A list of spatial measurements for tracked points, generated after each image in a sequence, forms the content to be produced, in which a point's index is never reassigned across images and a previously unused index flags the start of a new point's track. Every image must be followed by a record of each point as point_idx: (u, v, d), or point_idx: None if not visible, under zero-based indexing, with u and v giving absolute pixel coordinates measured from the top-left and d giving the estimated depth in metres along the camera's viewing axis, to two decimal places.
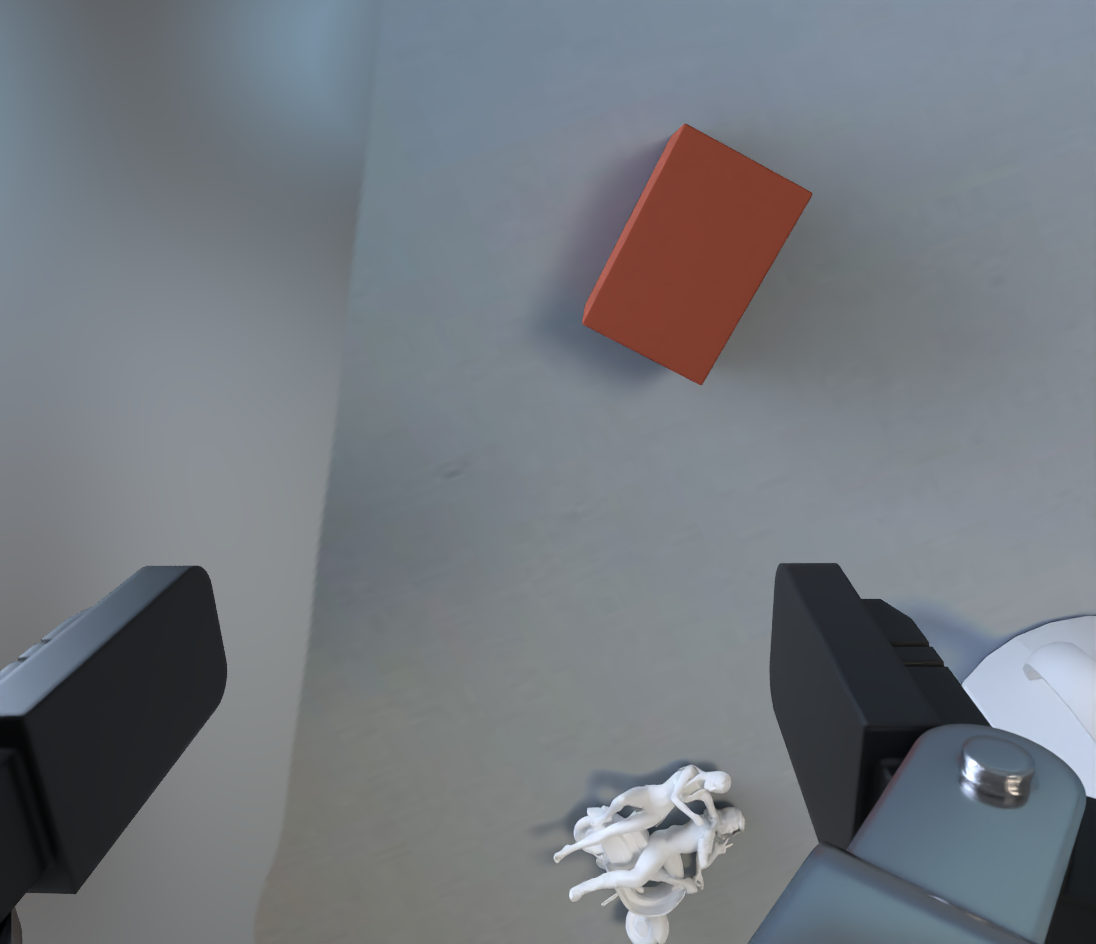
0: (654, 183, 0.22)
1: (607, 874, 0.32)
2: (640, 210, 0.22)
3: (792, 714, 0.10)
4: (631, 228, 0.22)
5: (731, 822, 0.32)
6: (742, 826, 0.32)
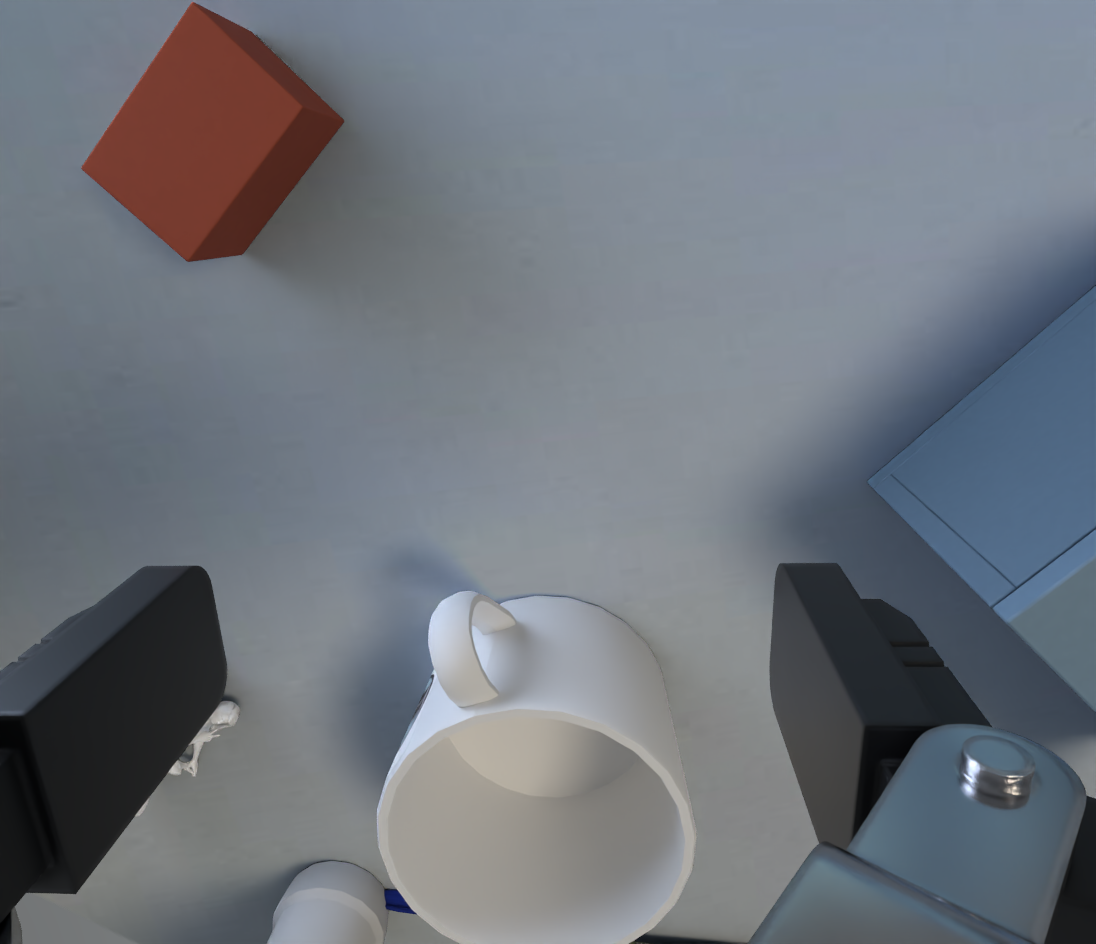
0: (159, 51, 0.23)
1: None
2: (145, 73, 0.23)
3: (792, 714, 0.10)
4: (134, 88, 0.23)
5: (221, 714, 0.33)
6: (230, 720, 0.33)
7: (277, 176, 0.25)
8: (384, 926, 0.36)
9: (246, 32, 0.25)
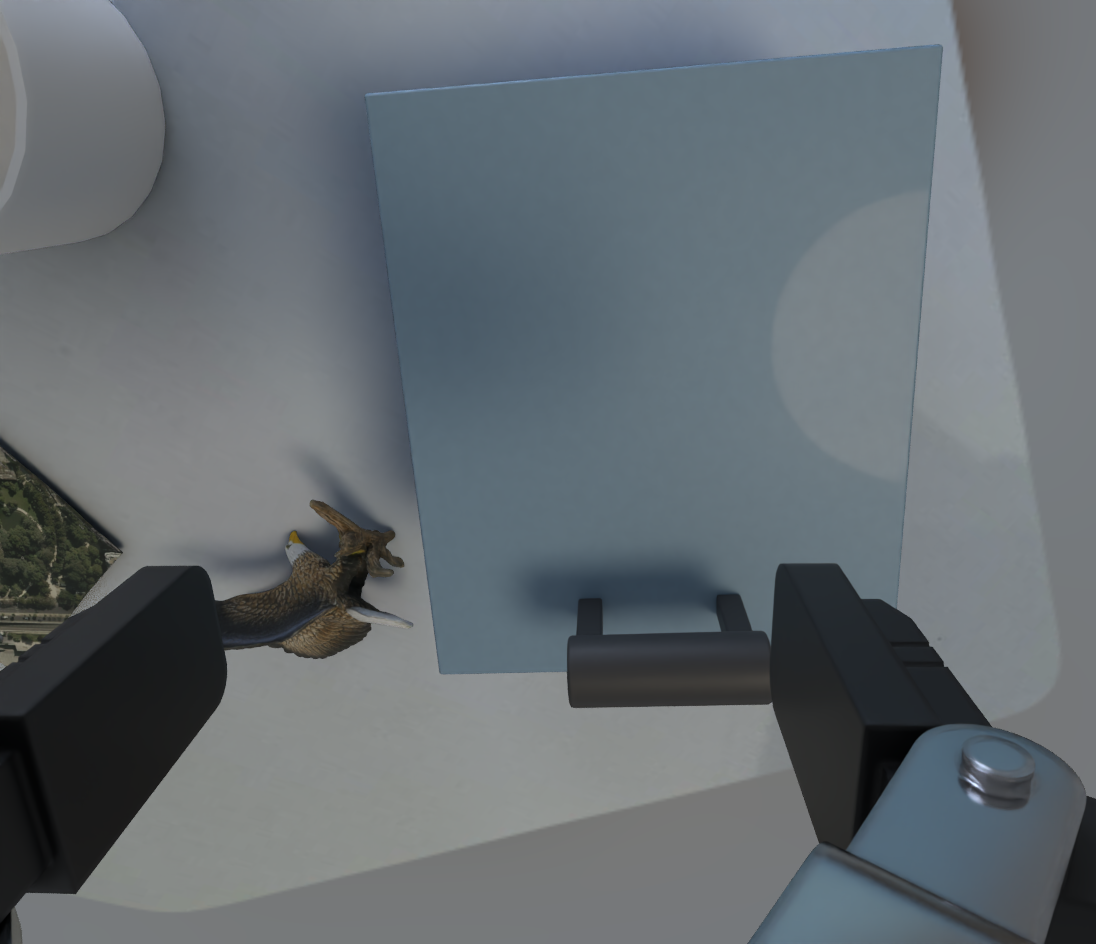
0: None
1: None
2: None
3: (792, 714, 0.10)
4: None
5: None
6: None
7: None
8: None
9: None
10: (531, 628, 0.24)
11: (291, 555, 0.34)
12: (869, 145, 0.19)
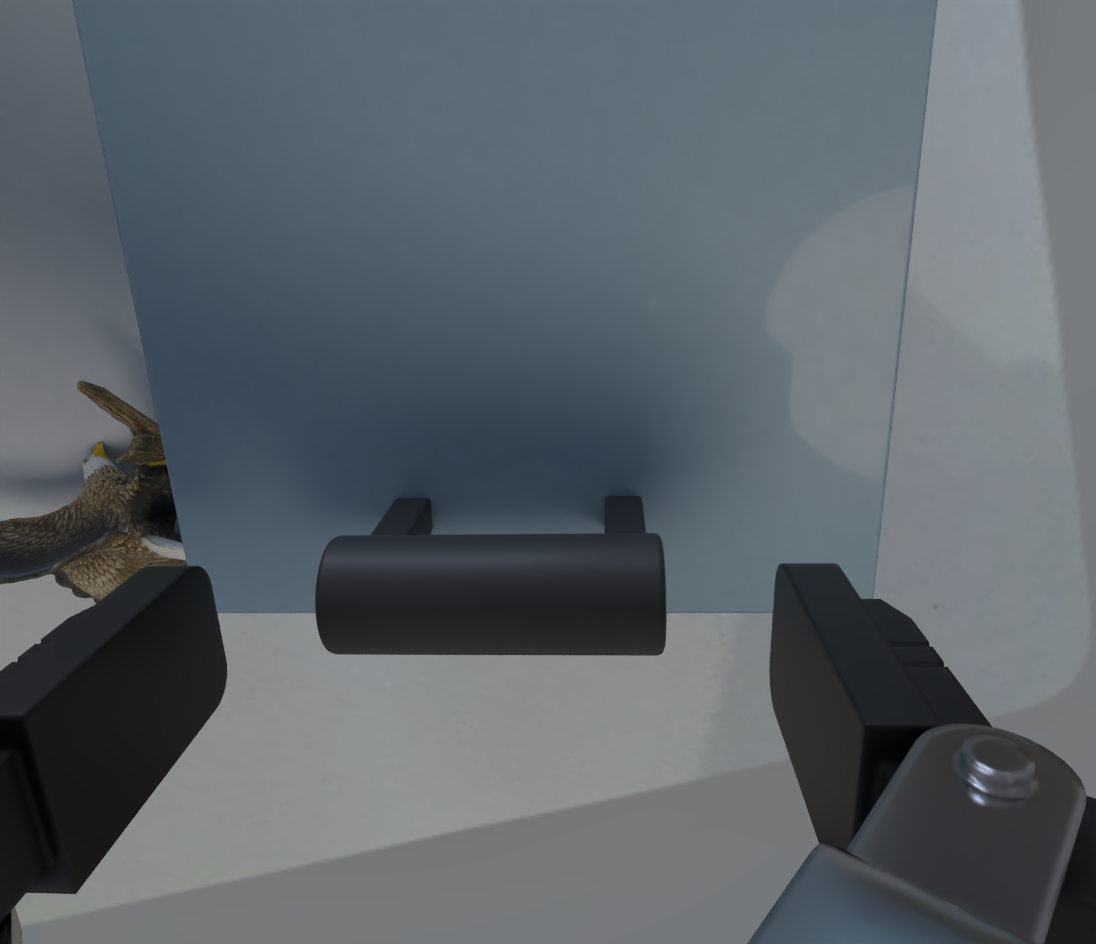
0: None
1: None
2: None
3: (792, 714, 0.10)
4: None
5: None
6: None
7: None
8: None
9: None
10: (327, 543, 0.16)
11: (87, 471, 0.25)
12: None
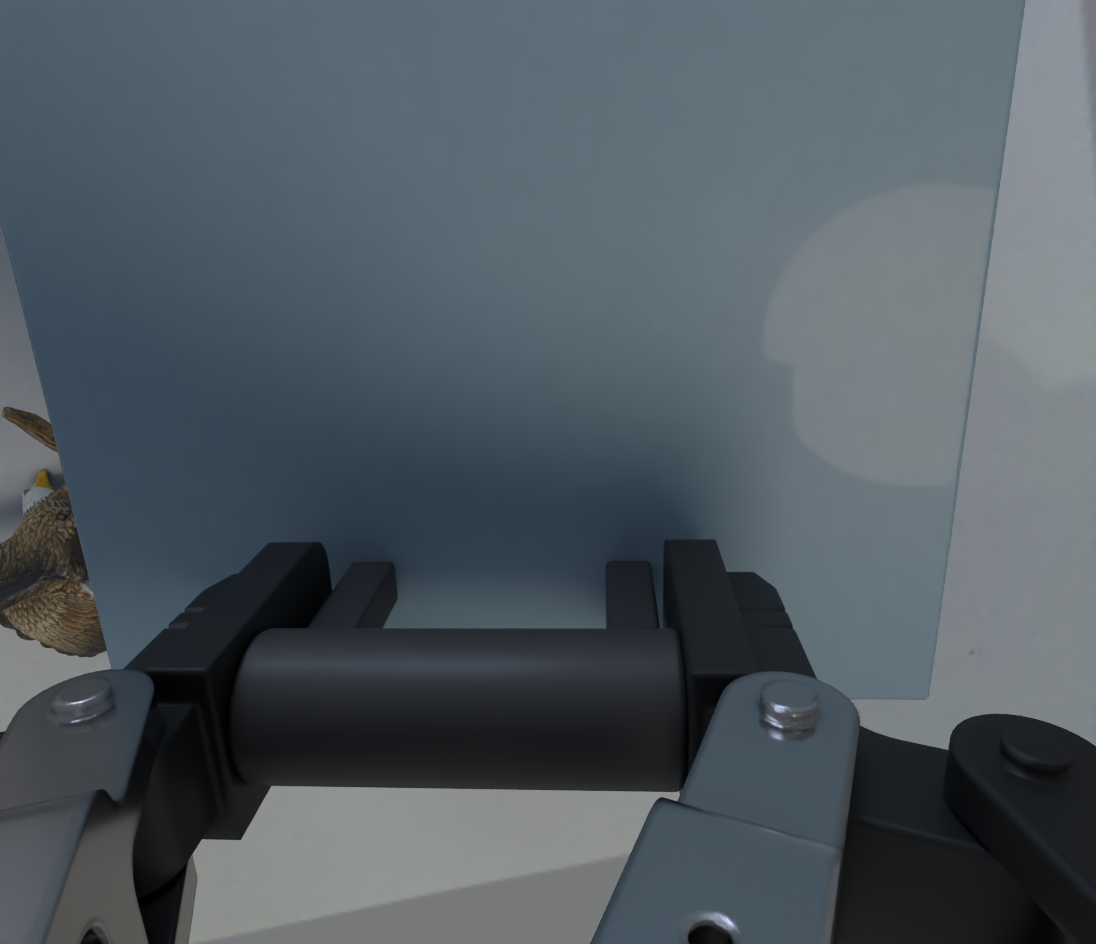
0: None
1: None
2: None
3: None
4: None
5: None
6: None
7: None
8: None
9: None
10: None
11: (25, 503, 0.23)
12: None
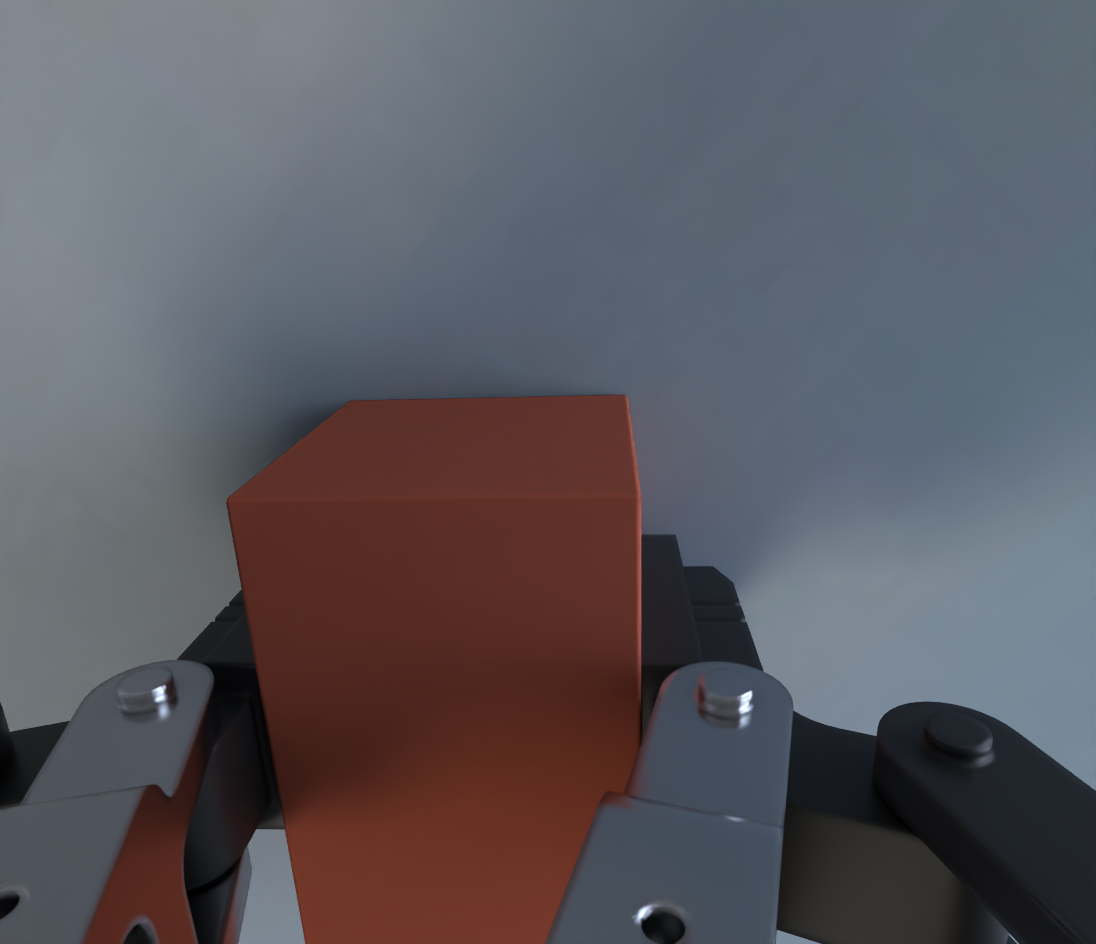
0: None
1: None
2: None
3: None
4: None
5: None
6: None
7: None
8: None
9: None
10: None
11: None
12: None
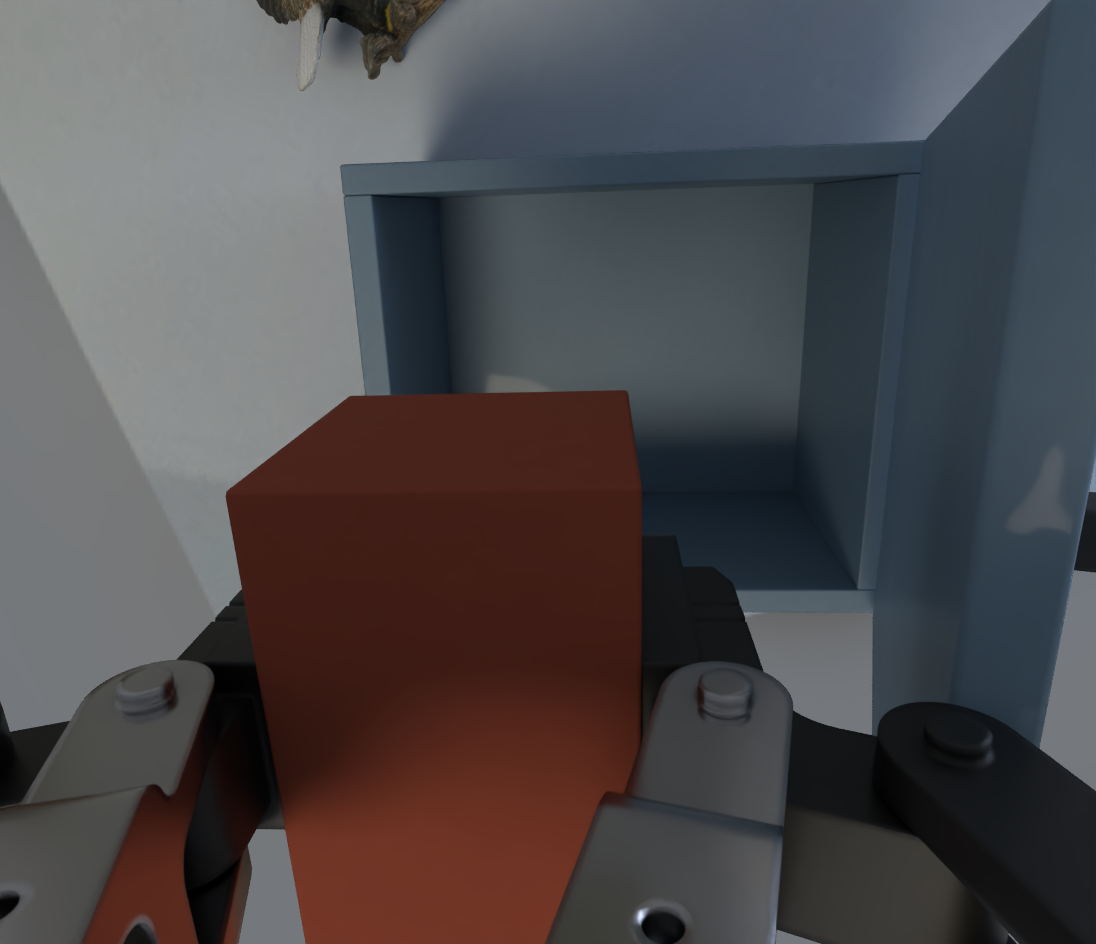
0: None
1: None
2: None
3: None
4: None
5: None
6: None
7: None
8: None
9: None
10: None
11: None
12: None
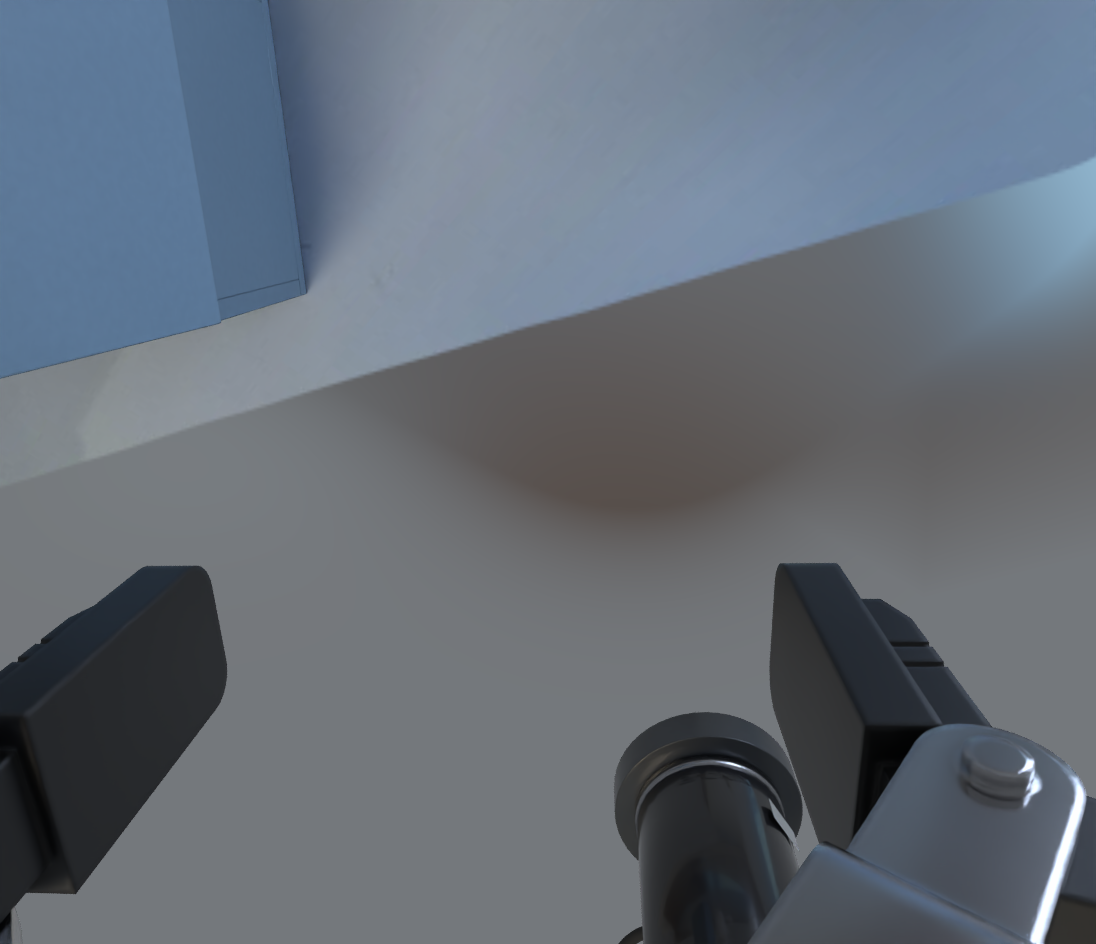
0: None
1: None
2: None
3: (792, 714, 0.10)
4: None
5: None
6: None
7: None
8: None
9: None
10: None
11: None
12: (180, 287, 0.28)
